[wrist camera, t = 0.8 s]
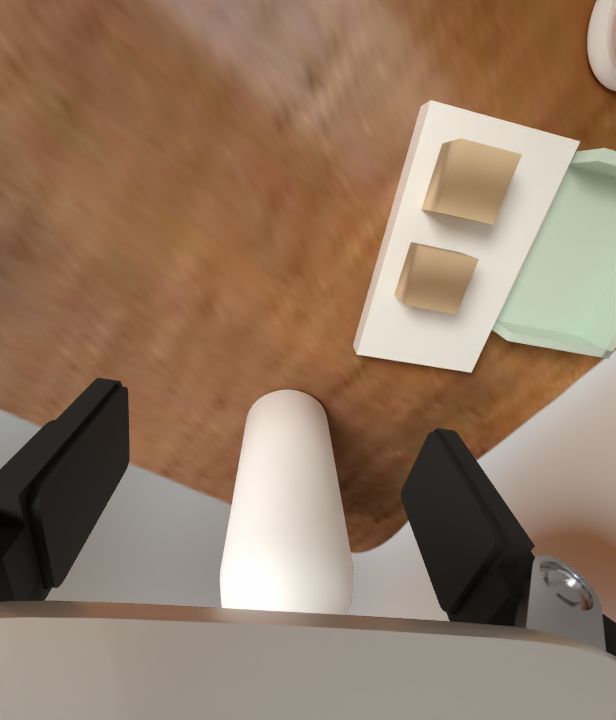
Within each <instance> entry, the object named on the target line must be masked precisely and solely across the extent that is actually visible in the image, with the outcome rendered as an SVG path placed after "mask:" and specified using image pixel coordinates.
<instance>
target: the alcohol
mask: <svg viewBox="0 0 616 720" xmlns="http://www.w3.org/2000/svg"><path fill="white" fill-rule="evenodd" d="M352 588H353V563H352V557H351V552H350V546H349V540H348V535H347V529H346V523H345V518H344V512H343V506H342V501H341V495H340V489H339V483H338V478H337V472H336V466H335V461H334V455H333V449H332V444H331V438H330V432H329V427H328V421H327V416H326V413H325V410H324V409H323V407H322V405H321V404H320V403H319V402H318V401H317V400H316V399H314V398H313V397H312V396H310V395H308V394H306V393H303V392H300V391H296V390H279V391H275V392H271V393H269V394H267V395H265V396H263V397H262V398H260V399H259V400H257V401H256V402H255V403H254V405H253V406H252V407H251V409H250V411H249V413H248V416H247V420H246V426H245V431H244V437H243V443H242V449H241V455H240V460H239V466H238V472H237V478H236V484H235V489H234V495H233V501H232V507H231V513H230V518H229V524H228V530H227V536H226V541H225V547H224V553H223V559H222V565H221V570H220V590H221V604H222V608H232V609H250V610H268V611H286V612H303V613H321V614H338V615H347V612H348V610H349V607H350V604H351V602H352Z"/></svg>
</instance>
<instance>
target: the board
mask: <svg viewBox="0 0 616 720" xmlns="http://www.w3.org/2000/svg"><path fill="white" fill-rule="evenodd" d="M460 138H462V139H466V140H470V141H473V142H477V143H481V144H485V145H489V146H492V147H496V148H500V149H504V150H508V151H511V152H515V153H519V154H522V156H521V158H520V161H519V163H518V166H517V168H516V171H515V173H514V175H513V178H512V180H511V183H510V185H509V188H508V190H507V192H506V195H505V197H504V200H503V202H502V205H501V207H500V209H499V212H498V214H497V217H496V219H495V222H494V224H493V225H492V224H486V223H481V222H475V221H470V220H466V219H462V218H457V217H453V216H448V215H444V214H439V213H435V212H431V211H426V210H422V209H421V208H422V205H423V202H424V199H425V196H426V193H427V190H428V187H429V183H430V180H431V177H432V174H433V171H434V168H435V165H436V161H437V158H438V155H439V152H440V149H441V146H442V143H446V142H449V141H453V140H456V139H460ZM579 143H580V141H577V140H573V139H569V138H566V137H562V136H558V135H555V134H551V133H548V132H544V131H540V130H537V129H533V128H529V127H526V126H522V125H519V124H515V123H511V122H508V121H504V120H500V119H497V118H493V117H490V116H486V115H482V114H479V113H475V112H472V111H468V110H464V109H461V108H457V107H453V106H450V105H446V104H443V103H439V102H435V101H432V100H431V101H429V102H427V103H426V104H424V105H422V106H421V107H420V111H419V114H418V118H417V121H416V125H415V129H414V132H413V136H412V139H411V143H410V146H409V150H408V153H407V157H406V160H405V164H404V167H403V171H402V174H401V178H400V182H399V185H398V189H397V192H396V196H395V199H394V203H393V206H392V210H391V213H390V217H389V220H388V224H387V227H386V231H385V235H384V238H383V242H382V245H381V249H380V252H379V256H378V259H377V263H376V266H375V270H374V273H373V277H372V280H371V284H370V288H369V291H368V295H367V298H366V302H365V305H364V309H363V312H362V316H361V319H360V323H359V326H358V330H357V333H356V337H355V340H354V344H353V347H354V349H355V352H356V354H357V355H364V356H370V357H376V358H382V359H389V360H395V361H401V362H408V363H414V364H420V365H426V366H433V367H439V368H445V369H452V370H458V371H464V372H470V373H472V370H473V368H474V366H475V364H476V362H477V360H478V358H479V356H480V353H481V351H482V349H483V347H484V345H485V343H486V341H487V339H488V336H489V334H490V332H491V330H492V328H493V326H494V324H495V322H496V319H497V317H498V315H499V313H500V311H501V309H502V307H503V305H504V302H505V300H506V298H507V296H508V294H509V292H510V290H511V287H512V285H513V283H514V281H515V279H516V277H517V275H518V273H519V270H520V268H521V266H522V264H523V262H524V260H525V258H526V256H527V253H528V251H529V249H530V247H531V245H532V243H533V241H534V239H535V236H536V234H537V232H538V230H539V228H540V226H541V224H542V222H543V219H544V217H545V215H546V213H547V211H548V209H549V207H550V205H551V202H552V200H553V198H554V196H555V194H556V192H557V190H558V188H559V185H560V183H561V181H562V179H563V177H564V175H565V173H566V171H567V168H568V166H569V164H570V162H571V160H572V158H573V156H574V154H575V151H576V149H577V147H578V145H579ZM411 242H414V243H418V244H423V245H428V246H433V247H437V248H442V249H447V250H451V251H456V252H461V253H464V254H466V255H469V256H472V257H474V258H477V259H479V260H478V263H477V265H476V268H475V270H474V272H473V275H472V277H471V280H470V282H469V285H468V287H467V289H466V292H465V294H464V297H463V299H462V302H461V304H460V306H459V309H458V311H457V314H451V313H445V312H440V311H434V310H429V309H424V308H418V307H413V306H407V305H404V304H403V303H402V302H401V301H400V300H399V299H398V298H397V297H396V296H395V295H394V293H395V290H396V287H397V284H398V281H399V278H400V274H401V271H402V268H403V265H404V262H405V259H406V256H407V252H408V249H409V246H410V243H411Z"/></svg>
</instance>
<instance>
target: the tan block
mask: <svg viewBox="0 0 616 720" xmlns="http://www.w3.org/2000/svg"><path fill="white" fill-rule="evenodd" d="M478 260H479V259H477V258H474V257H472V256H469V255H466V254H464V253H461V252H456V251H451V250H447V249H442V248H437V247H433V246H428V245H423V244H418V243H414V242H411V243H410V246H409V249H408V252H407V256H406V259H405V262H404V265H403V268H402V271H401V274H400V278H399V281H398V284H397V287H396V290H395V293H394V295H395V296H396V297H397V298H398V299H399V300H400V301H401V302H402V303H403V304H404V305H407V306H413V307H418V308H424V309H429V310H434V311H440V312H445V313H451V314H457V311H458V309H459V306H460V304H461V302H462V299H463V297H464V294H465V292H466V289H467V287H468V285H469V282H470V280H471V277H472V275H473V272H474V270H475V268H476V265H477V263H478Z"/></svg>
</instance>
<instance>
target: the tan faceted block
mask: <svg viewBox="0 0 616 720" xmlns="http://www.w3.org/2000/svg"><path fill="white" fill-rule="evenodd" d="M521 156H522V154H519V153H515V152H511V151H508V150H504V149H500V148H496V147H492V146H489V145H485V144H481V143H477V142H473V141H470V140H466V139H462V138H460V139H456V140H453V141H449V142H446V143H442V146H441V149H440V152H439V155H438V158H437V161H436V165H435V168H434V171H433V174H432V177H431V180H430V183H429V187H428V190H427V193H426V196H425V199H424V202H423V205H422V208H421V209H422V210H426V211H431V212H435V213H439V214H444V215H448V216H453V217H457V218H462V219H466V220H470V221H475V222H481V223H486V224H492V225H493V224H494V222H495V219H496V217H497V214H498V212H499V209H500V207H501V205H502V202H503V200H504V197H505V195H506V192H507V190H508V188H509V185H510V183H511V180H512V178H513V175H514V173H515V171H516V168H517V166H518V163H519V161H520V158H521Z"/></svg>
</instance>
